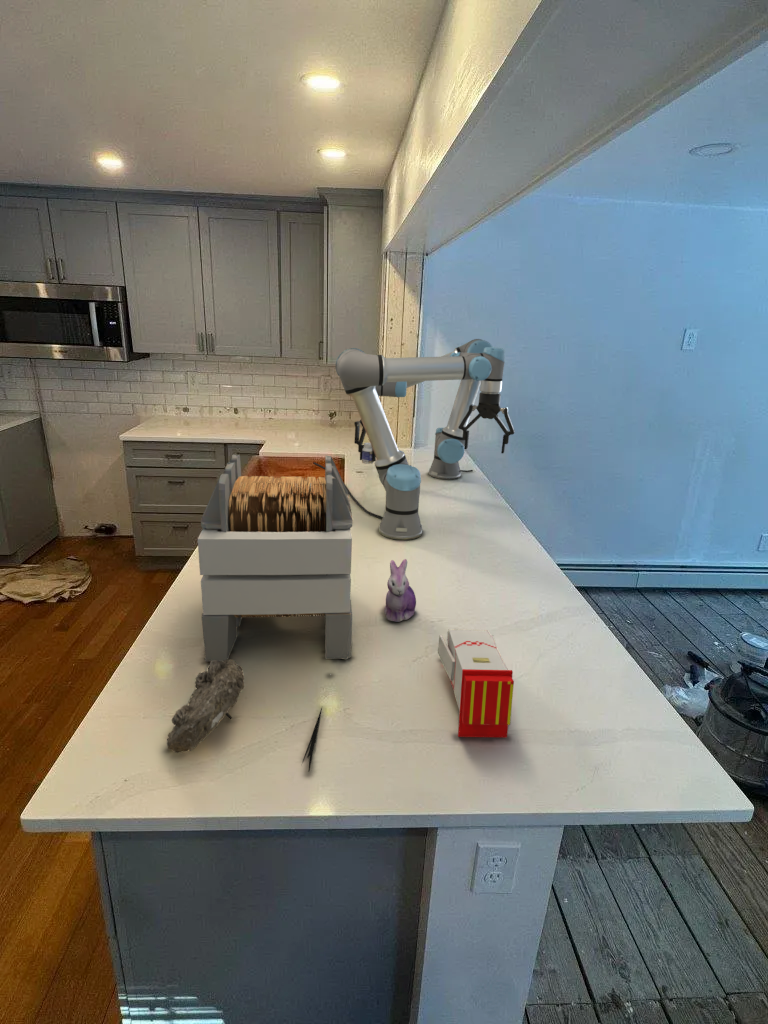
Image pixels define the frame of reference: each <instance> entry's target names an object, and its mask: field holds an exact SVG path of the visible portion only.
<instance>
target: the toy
mask: <svg viewBox="0 0 768 1024" xmlns="http://www.w3.org/2000/svg"><path fill="white" fill-rule="evenodd" d="M446 640H447V643H446V641H445V639H444V636H443V635H442V634H439V637H438V646H437V656H438V657H439V659H440V661H441V663H442V666H443V668H444V670H445V672H446V674H447V677H448V679H449V681H450V684H451V687H452V690H453V693H454V697H455V701H456V705H457V708H458V711H459V714H458V715H459V716H458V730H457V731H458V732H457V737H458V738H508V731H509V726H510V725H511V717H512V707H513V697H514V696H513V695H514V684H515V680H514V679H513V673H514V671H513V670H512V669H508V667H507V665H506V662H505V661H504V659H503V658H502V655H501V653H500V651H499V649H498V647H497V643H496V639H495V637H494V635H493V634H491V632H490V631H489V629H467V628H466V629H465V628H463V629H461V628H460V629H459V628H448V630H447V639H446Z"/></svg>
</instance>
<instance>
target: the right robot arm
mask: <svg viewBox="0 0 768 1024" xmlns="http://www.w3.org/2000/svg"><path fill="white" fill-rule="evenodd" d="M486 347H494V346H493V345H492V344H491V343H490V342H489V341H487V340H485V339H480V338H474V339H472V340H470V341H468V342H466V343H463V345H462V344H461V345H460V346H457V347H455V348H454V350H453V351H451V352H449V353H446V354H443V355H441V356H440V357H450V355H451V354H452V353H454V352H464V353H483V351H484V348H486ZM423 382H425V381H406V382H386V383H385V384H384V385H382V386H376V387H375V389H376V391H377V394H378V397H379V398H380V397H390V398H398V399H399V398H405V397H407V389H408V388H410V387H413V386H416V385H418V384H421V383H423ZM480 384H481V381H475V380H473V379H471V380H460V382H459V386H458V389H457V392H456V395H455V399H454V402H453V405H452V408H451V411H450V415H449V418H448V422H447V425H446V426H445V427H438V428H436V430H435V433H434V435H435V438H434V450H433V451H434V452H433V460H432V462H431V465H430V468H429V470H428V475H429V476H430V477H432V478H434V479H439V480H457V479H460V478H461V475H462V472H463V473H470V472H474V470H473V469H469V470H466V469H465V470H464V469H461V467H460V462H459V461H461V460H462V459H463V457H464V455H465V449H464V448H465V440H463V430H461V429H459V428H458V427H459V425H460V424H461V422H462V420H463V419H464V417H465V416H466V414H467V412H468V411H469V406H470V405H471V404H473V405H475V403H476V400H477V397H478V394H479V391H480ZM471 416H472V414H471V415H470V416H469V418H468V419H467V421H466V423H465V424H464V427H466V426H467V425H468V424H469V423H470V418H471ZM353 424H354V441H353V443H354V444H356V445H357V446H358V447H357V448H358V449H357V450H358V451H357V452H358V453H359V461H362V449H363V448H364V440H365V436H366V435H367V433H366V431H365V428H364V425H363V423H362V420H361V419H360V420H359V421H358V420H357V421H354V423H353ZM361 427H362V429H361ZM360 429H361V430H360ZM360 431H361V433H360ZM375 461H376V456H375V453H374V451H372V462H373V463H375Z"/></svg>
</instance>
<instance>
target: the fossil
mask: <svg viewBox="0 0 768 1024" xmlns="http://www.w3.org/2000/svg"><path fill="white" fill-rule="evenodd" d="M243 670H244V669H243V667H242V665H240V664H237V662H236V661H235V660H234V659H232V658H231V659H229V658H228V659H227V660H224V661H217V660H212V661H211V662H209V665H208V666H207V671H201V672H199V673H198V674H197V675H196V676H195V680H194V684H195V685H194V687H195V689H194V690H193V693H192V694H191V697H190V698H189V700H188V704H184V705H182V706H181V707H180V709H177V710H176V711H175V713H174V715H173V716H172V718H171V723H172V724H173V727H172V730H171V731H170V732H168V734H167V738H166V741H167V742H166V745H167V749H168V750H169V751H173V752H174V753H176V754H178V753H182V752H188V751H189V752H192V751H193V750H195V748H196V747H197V746H199V744H200V743H201V742H203V741H204V740H205V739H206V738H207V737H208V736H209V735H210V734H211V733H212V732H214V730H215V729H217V727H218V726H219V724H220V722H221V721H222V720H223V719H224V718H225V716H226V717H227V719H229V720H233V717H232V715H230V714H229V710H230V709H231V708H234V706H235V704H236V703H237V702H238V699H239V697H240V695H241V693H242V691H243V690H245V689H244V688H245V675H244V671H243Z"/></svg>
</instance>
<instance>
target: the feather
mask: <svg viewBox="0 0 768 1024" xmlns="http://www.w3.org/2000/svg"><path fill="white" fill-rule="evenodd" d="M329 675H330V676H331V675H332V674H331V673H330V674H329ZM322 710H323V707H321V708H320V710H319V713H318V716H317V719H316V723H315V725H314V728H313V731H312V733H311V737H310V739H309V742H308V745H307V748H306V751H305V754H304V757H303V760H302V763H301V767H302V765H303V763H304V761H305V758H308V759H309V760H308V762H307V763H308V764H307V766H308V771H310V770H311V766H312V765H311V764H312V760H313V757H315V756H314V755H315V751H316V749H315V746H317V739H318V733H319V729H320V722H321V717H322V712H323V711H322ZM313 754H314V755H313ZM306 755H307V757H306Z"/></svg>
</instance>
